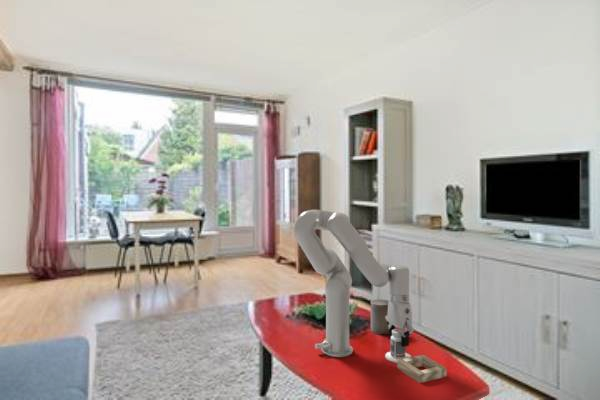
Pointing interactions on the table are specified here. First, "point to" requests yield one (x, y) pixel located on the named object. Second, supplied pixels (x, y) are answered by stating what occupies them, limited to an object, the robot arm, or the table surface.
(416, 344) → the table surface
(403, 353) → the pill bottle
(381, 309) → the pillar candle
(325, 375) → the table surface
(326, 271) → the robot arm
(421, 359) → the socket block
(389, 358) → the felt mat
